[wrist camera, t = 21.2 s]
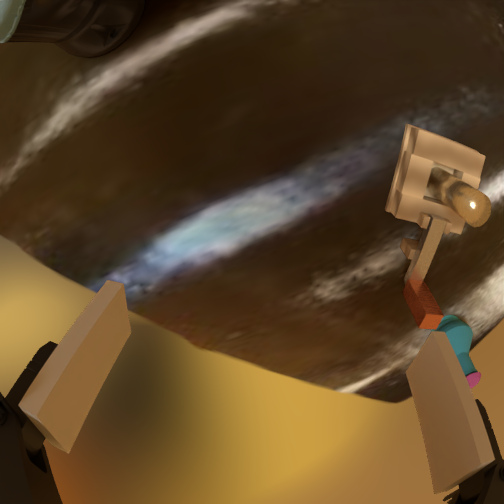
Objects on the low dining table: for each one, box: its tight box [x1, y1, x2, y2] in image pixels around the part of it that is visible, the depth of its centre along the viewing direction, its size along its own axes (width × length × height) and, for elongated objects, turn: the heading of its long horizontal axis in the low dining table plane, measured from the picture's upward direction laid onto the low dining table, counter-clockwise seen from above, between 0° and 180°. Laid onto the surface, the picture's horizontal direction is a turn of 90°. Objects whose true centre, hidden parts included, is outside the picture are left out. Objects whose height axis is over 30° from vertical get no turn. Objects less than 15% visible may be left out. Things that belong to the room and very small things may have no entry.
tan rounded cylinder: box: [426, 167, 491, 227], centre depth 31 cm, size 4×4×12 cm
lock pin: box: [402, 214, 447, 329], centre depth 35 cm, size 12×3×10 cm, turn 173°
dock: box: [385, 124, 485, 259], centre depth 36 cm, size 18×13×5 cm
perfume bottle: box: [431, 315, 481, 389], centre depth 44 cm, size 9×9×15 cm
